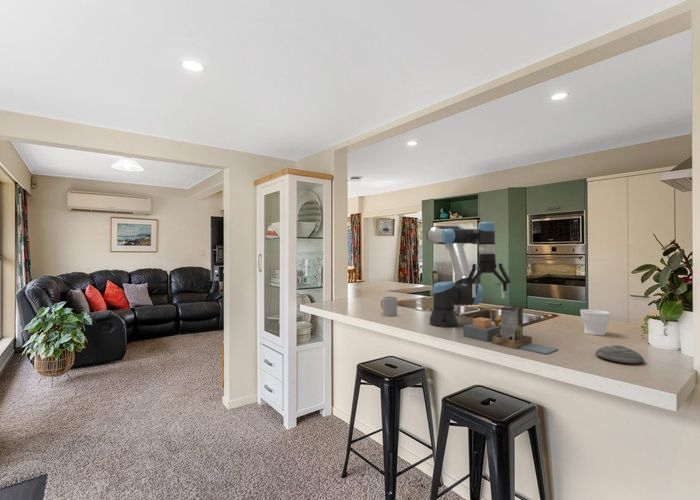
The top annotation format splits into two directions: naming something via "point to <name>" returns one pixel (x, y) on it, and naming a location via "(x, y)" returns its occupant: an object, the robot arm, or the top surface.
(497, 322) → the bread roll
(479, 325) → the release button
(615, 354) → the grey flat stone
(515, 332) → the coffee box
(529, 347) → the slate mat
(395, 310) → the mug
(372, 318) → the top surface
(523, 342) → the wooden tray
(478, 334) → the button housing
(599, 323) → the cup
